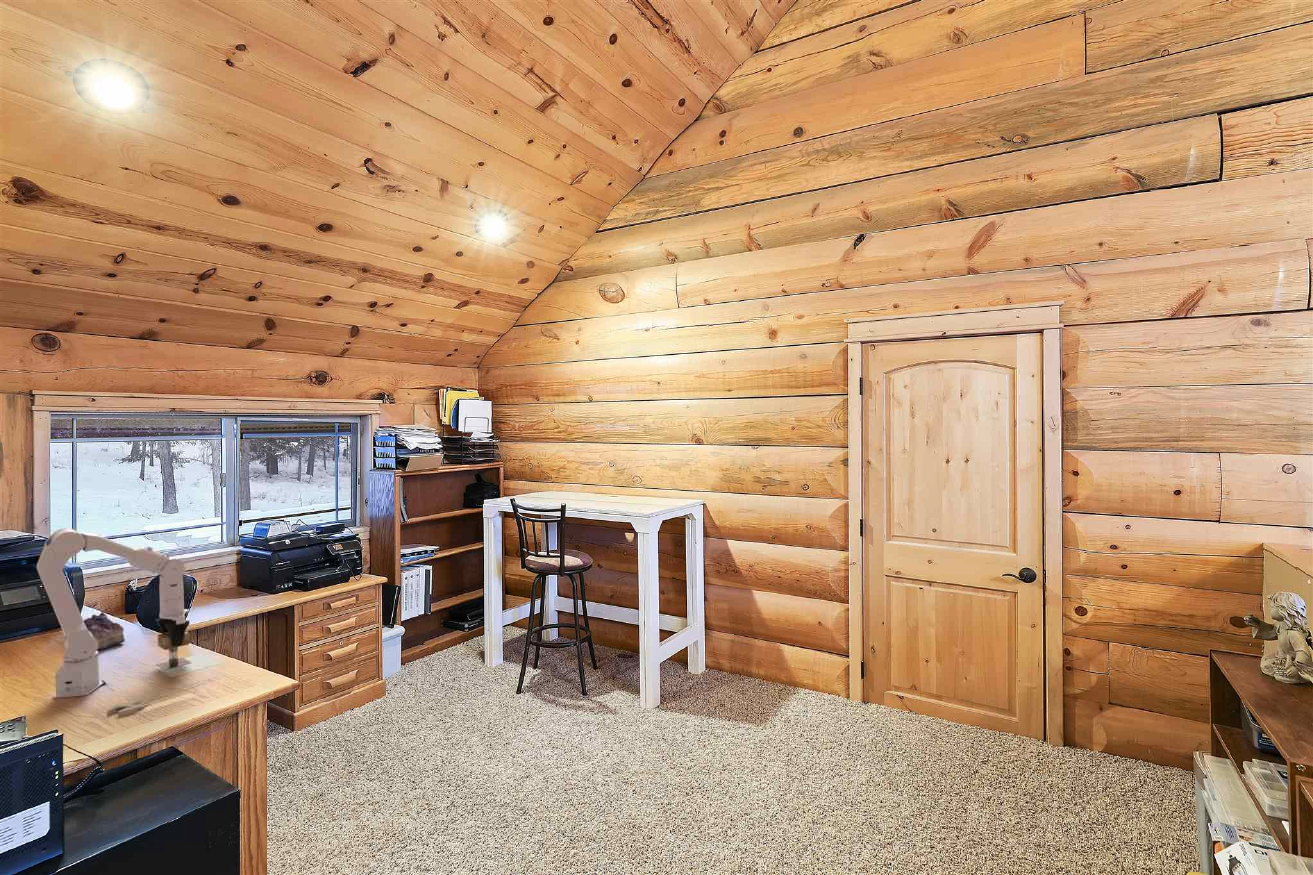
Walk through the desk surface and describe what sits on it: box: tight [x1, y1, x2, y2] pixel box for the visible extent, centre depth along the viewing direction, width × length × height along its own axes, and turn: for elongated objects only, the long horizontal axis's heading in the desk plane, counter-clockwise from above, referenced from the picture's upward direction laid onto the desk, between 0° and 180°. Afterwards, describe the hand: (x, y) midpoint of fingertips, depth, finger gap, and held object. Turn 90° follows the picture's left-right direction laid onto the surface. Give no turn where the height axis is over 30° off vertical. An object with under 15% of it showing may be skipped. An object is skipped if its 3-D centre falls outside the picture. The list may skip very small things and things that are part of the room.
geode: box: [83, 611, 126, 651], centre depth 215 cm, size 20×12×10 cm, turn 52°
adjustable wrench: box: [106, 676, 220, 718], centre depth 172 cm, size 25×6×2 cm, turn 145°
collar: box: [157, 631, 190, 651], centre depth 194 cm, size 6×6×3 cm
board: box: [153, 654, 219, 678], centre depth 193 cm, size 14×12×1 cm
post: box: [155, 647, 191, 670], centre depth 194 cm, size 7×7×5 cm
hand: (173, 643), depth 194 cm, fingers closed on collar, 6 cm apart
